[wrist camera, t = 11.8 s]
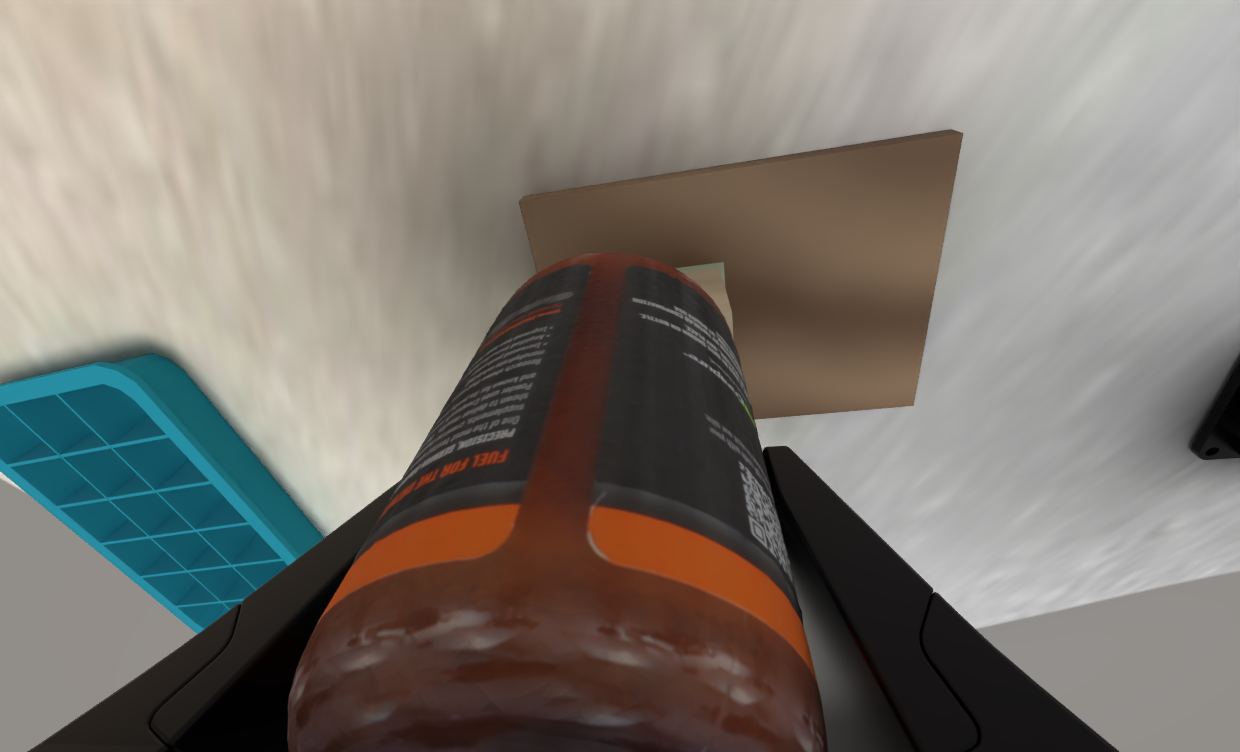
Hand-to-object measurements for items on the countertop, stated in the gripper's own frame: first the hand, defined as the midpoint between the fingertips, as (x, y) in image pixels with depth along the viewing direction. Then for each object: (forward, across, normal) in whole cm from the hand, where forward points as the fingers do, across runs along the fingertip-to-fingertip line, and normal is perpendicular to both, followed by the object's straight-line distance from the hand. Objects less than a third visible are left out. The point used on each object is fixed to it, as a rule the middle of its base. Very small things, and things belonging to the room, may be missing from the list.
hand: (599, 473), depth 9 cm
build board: (+13, -4, +3) cm, 14 cm away
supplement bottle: (+4, 0, 0) cm, 4 cm away
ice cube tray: (+13, +27, +12) cm, 32 cm away
